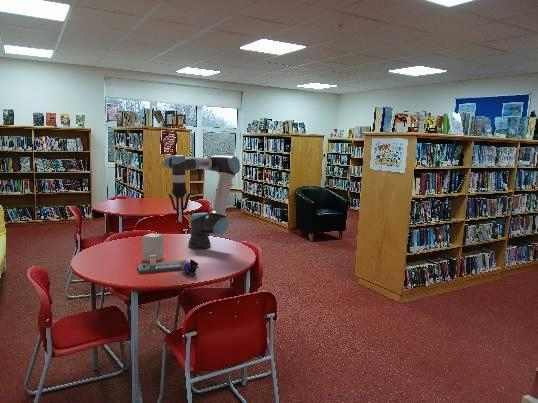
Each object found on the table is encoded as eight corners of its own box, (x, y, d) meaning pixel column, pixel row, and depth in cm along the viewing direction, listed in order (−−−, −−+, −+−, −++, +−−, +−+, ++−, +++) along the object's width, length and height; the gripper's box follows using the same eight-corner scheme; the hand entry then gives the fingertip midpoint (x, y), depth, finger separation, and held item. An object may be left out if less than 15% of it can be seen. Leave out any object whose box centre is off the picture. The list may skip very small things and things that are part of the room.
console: (187, 263, 243) (187, 258, 242) (191, 269, 232) (191, 264, 231) (137, 267, 233) (137, 262, 232) (139, 273, 222) (139, 268, 221)
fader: (156, 264, 232) (155, 254, 231) (156, 265, 229) (156, 256, 228) (149, 264, 230) (149, 255, 230) (150, 266, 228) (150, 256, 227)
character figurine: (188, 279, 216) (179, 271, 229) (201, 276, 220) (191, 268, 232) (187, 265, 215) (178, 258, 227) (200, 262, 218) (190, 255, 231)
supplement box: (164, 258, 252) (163, 234, 250) (155, 261, 244) (155, 237, 241) (151, 256, 255) (151, 232, 253) (142, 260, 246) (142, 235, 244)
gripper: (189, 180, 245) (189, 219, 249) (166, 181, 240) (168, 220, 244) (191, 182, 238) (192, 221, 242) (168, 183, 233) (170, 223, 237)
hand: (180, 221), depth 243 cm, fingers closed
